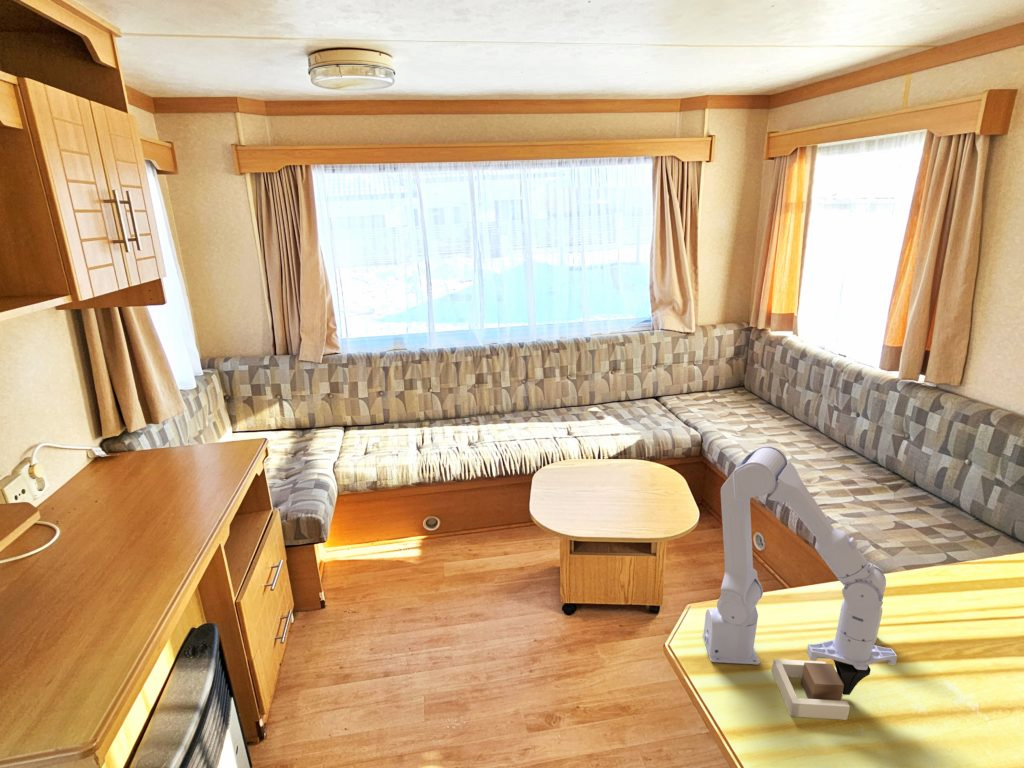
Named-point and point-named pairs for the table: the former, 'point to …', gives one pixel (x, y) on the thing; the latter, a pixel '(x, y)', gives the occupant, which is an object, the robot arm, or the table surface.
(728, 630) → the robot arm
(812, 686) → the walnut cube
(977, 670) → the table surface
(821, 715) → the dock
